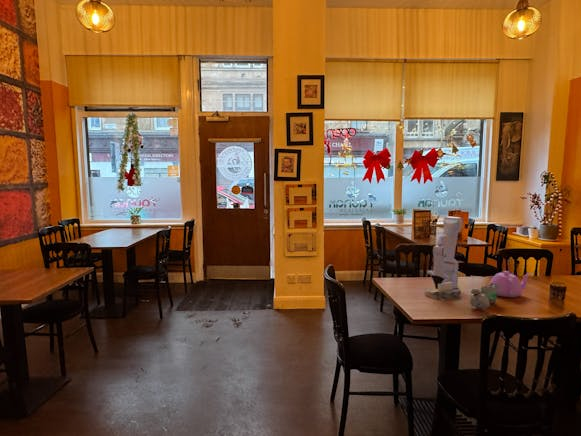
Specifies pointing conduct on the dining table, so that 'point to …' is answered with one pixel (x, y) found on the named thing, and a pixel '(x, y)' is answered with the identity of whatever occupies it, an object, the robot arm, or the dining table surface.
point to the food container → (490, 292)
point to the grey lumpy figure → (479, 299)
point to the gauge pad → (444, 287)
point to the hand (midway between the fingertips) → (437, 288)
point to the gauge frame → (444, 294)
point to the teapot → (509, 284)
